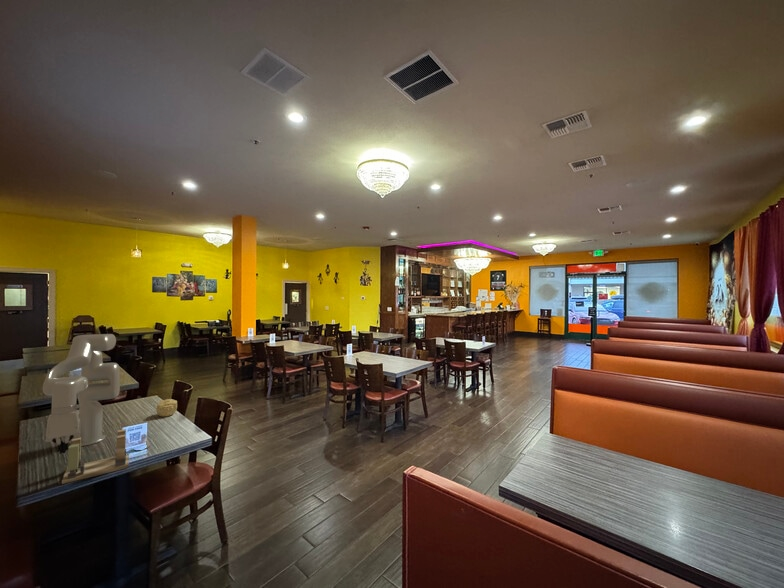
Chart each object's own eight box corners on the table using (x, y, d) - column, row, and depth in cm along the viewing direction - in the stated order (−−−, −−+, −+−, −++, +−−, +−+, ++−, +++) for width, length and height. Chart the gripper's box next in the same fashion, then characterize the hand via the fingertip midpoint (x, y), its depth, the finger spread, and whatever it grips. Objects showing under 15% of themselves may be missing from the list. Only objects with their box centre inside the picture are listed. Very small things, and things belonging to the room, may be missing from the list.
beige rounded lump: (157, 419, 209) (157, 403, 210) (155, 414, 218) (155, 398, 219) (178, 415, 217) (178, 399, 217) (175, 410, 226) (175, 395, 226)
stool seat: (67, 470, 148) (68, 438, 148) (129, 456, 161) (129, 427, 162) (61, 484, 137) (62, 450, 137) (128, 467, 150) (129, 436, 151)
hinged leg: (68, 474, 142) (69, 445, 142) (78, 471, 143) (79, 443, 144) (67, 478, 138) (68, 448, 139) (76, 475, 140) (78, 446, 141)
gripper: (88, 404, 147) (87, 444, 147) (40, 410, 138) (39, 454, 137) (86, 408, 141) (85, 450, 141) (36, 416, 132) (35, 461, 131)
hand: (62, 452), depth 139 cm, fingers closed
